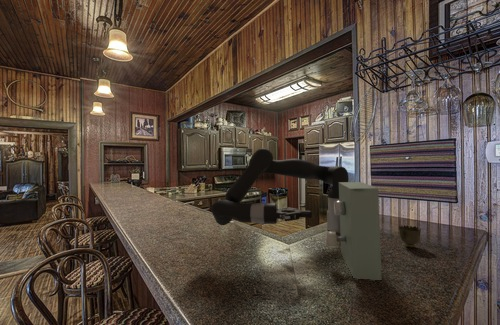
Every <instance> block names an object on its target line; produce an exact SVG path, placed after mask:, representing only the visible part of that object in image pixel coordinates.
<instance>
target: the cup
mask: <svg viewBox="0 0 500 325" xmlns="http://www.w3.org/2000/svg"><path fill="white" fill-rule="evenodd" d="M398 231H399V236H400V239H401V241H402V242H403V243H404V246H405V247H407V248H409V249H414V248H416V245H417V244H418V243H419V242H420V239H421V231H422V229H421V228H419V227H418V226H416V225H414V226H412V225H410V226H409V225H398Z"/></svg>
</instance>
